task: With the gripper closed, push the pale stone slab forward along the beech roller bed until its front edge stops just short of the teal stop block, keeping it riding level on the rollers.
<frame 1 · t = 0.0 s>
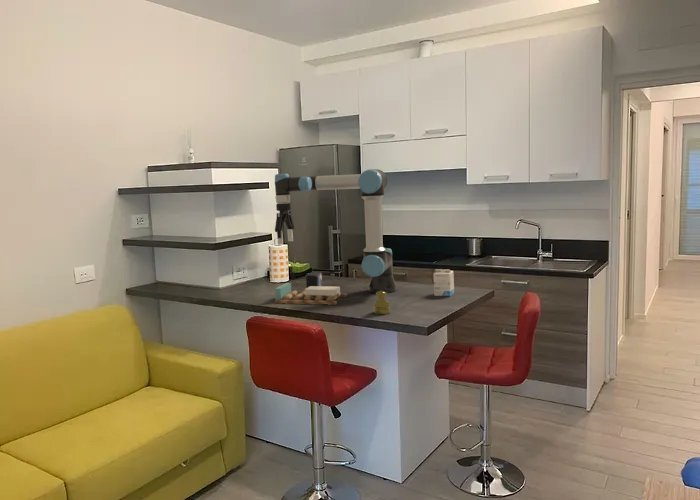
hand: (285, 242, 297), 28 cm above the countertop, fingers open, 13 cm apart
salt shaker: (381, 313, 250), on the countertop
small box: (314, 292, 302), on the countertop
slab: (322, 293, 281), point 3 cm above the countertop, touching roller bed
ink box: (444, 294, 283), on the countertop
roller bed: (311, 299, 283), on the countertop
stop block: (283, 299, 288), on the countertop
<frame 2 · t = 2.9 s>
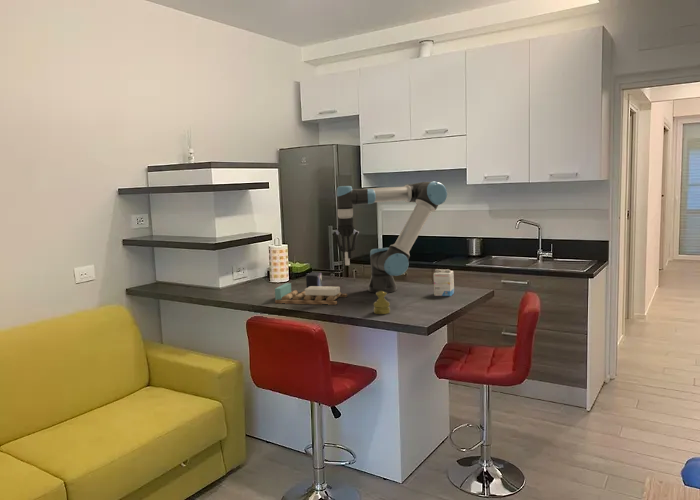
hand: (347, 264, 275), 18 cm above the countertop, fingers closed
nothing on the countertop moved.
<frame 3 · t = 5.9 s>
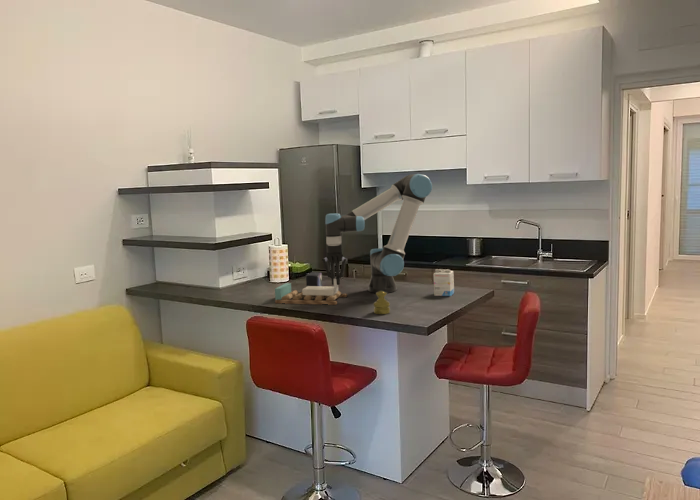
hand: (336, 291, 279), 5 cm above the countertop, fingers closed
slab: (320, 293, 281), point 3 cm above the countertop, touching gripper
everything else where it was.
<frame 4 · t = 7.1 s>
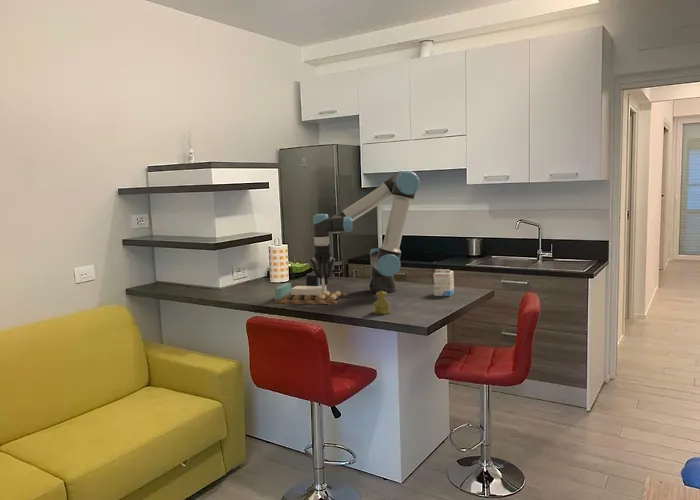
hand: (324, 290, 281), 5 cm above the countertop, fingers closed
slab: (308, 293, 283), point 3 cm above the countertop, touching gripper
everything else where it was.
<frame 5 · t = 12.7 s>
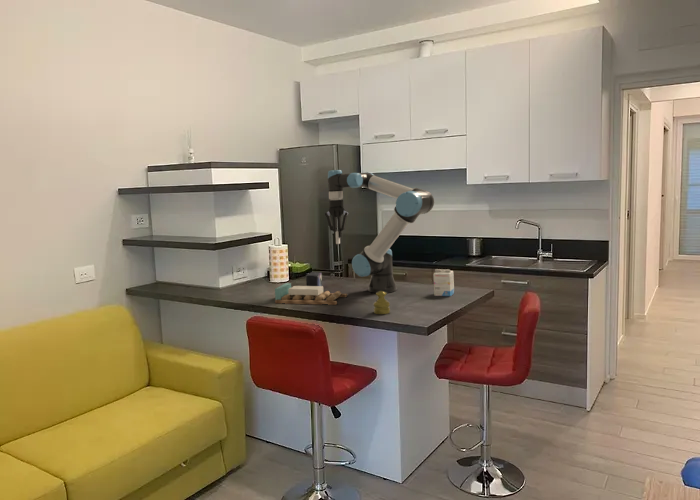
hand: (338, 243, 296), 26 cm above the countertop, fingers closed
slab: (306, 293, 284), point 3 cm above the countertop, touching roller bed
everything else where it was.
at the end: slab inside the target area (1.6 cm from its centre), point 3.3 cm above the countertop; slab tilted 0°; slab moved 8.9 cm from its start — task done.
